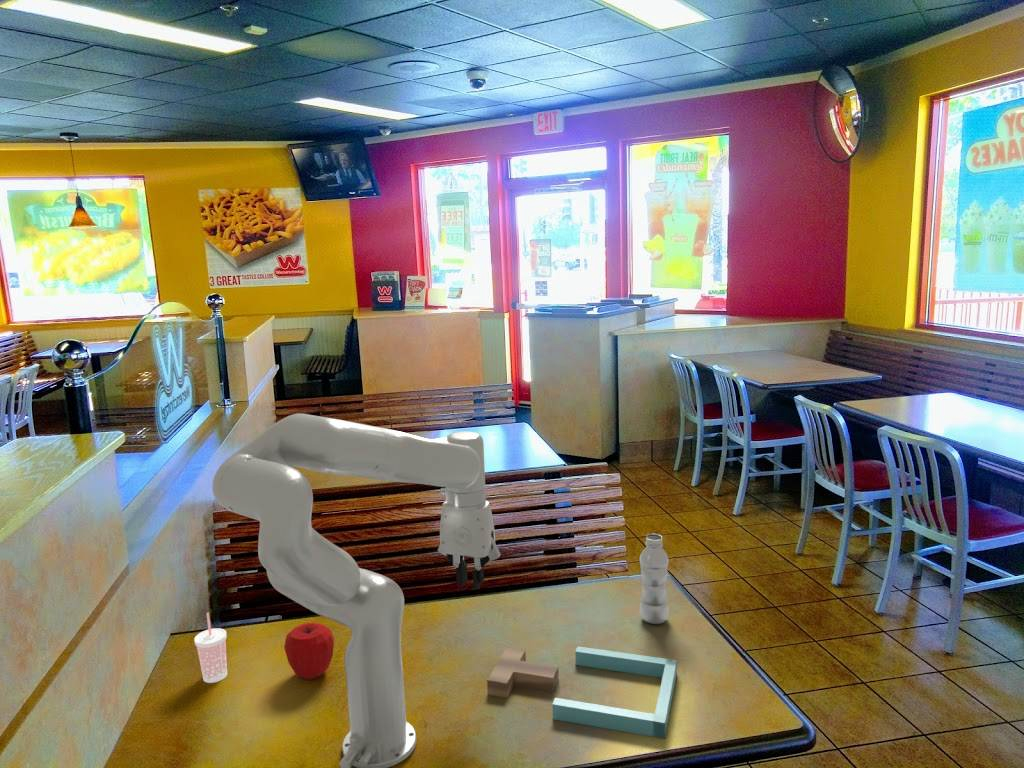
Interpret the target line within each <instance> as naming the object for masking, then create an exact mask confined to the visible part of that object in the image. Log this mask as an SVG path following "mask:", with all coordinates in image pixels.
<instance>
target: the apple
mask: <svg viewBox="0 0 1024 768" xmlns="http://www.w3.org/2000/svg"><path fill="white" fill-rule="evenodd" d="M334 645H335V637H334V635H333V631H332V630H331V629H330V627H328V626H326V625H325V624H323V623H319V622H305V623H302V624H299V625H296V626H295V627H294V628H292V629H291V631H289V632H288V633H287V634H286V636H285V641H284V647H283V649H284V651H285V656H286V659H287V662H288V664H289V666H290V667H291V669H292V670H293V672H294V674H295V675H297V676H298V677H300V678H302V679H304V680H308V681H310V680H314V678H315V679H317V678H318V677H320V676H321V675H322V674H324V673H325V672H326V671H327V670H328V669H329V667H330V664H331V662H332V659H333V656H334V647H335V646H334Z"/></svg>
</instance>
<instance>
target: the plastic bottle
mask: <svg viewBox="0 0 1024 768" xmlns="http://www.w3.org/2000/svg"><path fill="white" fill-rule="evenodd" d="M663 540H664V539H663V535H660V534H657V533H650V534H646V537H645V546H646V547H645V548H644V549H643V550H642V551H641V553H640V555H639V566H640V572H641V573H640V574H641V581H642V582H641V584H642V586H641V598H640V603H639V614H640V617H641V618H642V620H643V621H644V622H646V623H648V624H652V625H659V624H663V623H665V622H666V621H667V619H668V618H669V612H670V611H669V610H670V609H669V604H668V597H667V596H668V595H667V575H668V569H669V556H668V554H667V552H666V550H665V549H664V548H663V545H664V543H663Z"/></svg>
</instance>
